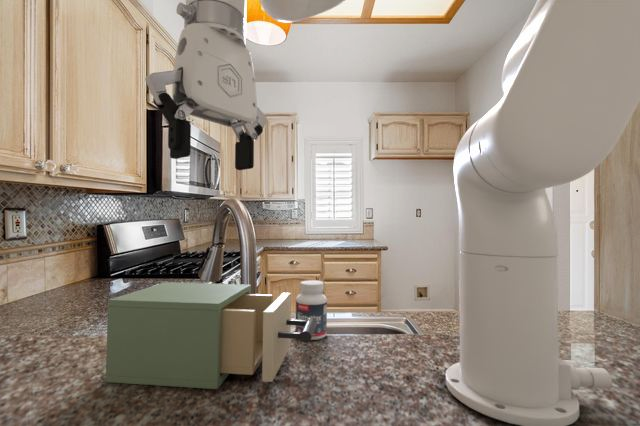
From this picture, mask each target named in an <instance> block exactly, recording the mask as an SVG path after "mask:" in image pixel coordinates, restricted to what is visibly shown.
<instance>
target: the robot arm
mask: <svg viewBox="0 0 640 426" xmlns="http://www.w3.org/2000/svg"><path fill="white" fill-rule="evenodd" d="M258 1H259V3H260V5H261V6H262V8H263V11H264V12H265V13H266V14H267V15H268V16H269V17H270V18H271V19H272V20H274V21H277V22H279V23H288V24H289V23H295V22H301V21H304V20H307V19H310V18H312V17H315V16H317V15H320V14H323V13H325V12H328V11H330V10H332V9H334V8H336V7H337V6H340V5H341V4H342V3H344V2H345V1H346V0H258ZM176 14H177V15H178V16H180V17H181V18H182V19H183V20H184V28H183V29H182V30H181V32H180V35H179V38H178V43H177V47H176V51H175V57H174V63H173V70H166V71H165V70H164V71H159V72H158V71H157V72H152V73H150V74H148V75H147V76H146V75H145V77H144V81H145V83H146V86H147V87H148V90H149V92H150V94H151V96H152V101H153V104H154V105H155V106H156V108H157V109H158V111H159V112H160V113H161V114H162V116H163V121H164V122H165V124H167V126H168V127H167V128H168V129H167V147H168V149H169V157H170V159H174V160H178V159H181V158H187V157H189V156H191V148H192V147H191V143H192V142H191V141H192V140H191V139H192V138H191V137H192V135H191V133H192V131H191V130H192V125H191V121H190V120H187V118H188V117H189V116H192V117H195V118H197V119H201V120H205V121H208V122H211V123H214V124H217V125H222V126H225V127H227V128H228V127H229V128H231V129H232V130H233V133H234V134H235V136H236V138H237V140H238V141H236V142H235V145H234V168H235V170H237V171H244V170H251V169H254V166H255V158H254V157H255V142H256V141H257V140H258V139H259V136H260V135H262V133H263V131H264V127H265V125H266V124H267V120H268V119H267V116H266V114H264V112H263V111H262V110H261V109H260V108H259V107H258V104H257V100H258V99H257V86H256V75H255V68H254V62H253V58H252V52H251V51H250V50H249V49H248V48H247V0H185V3H184V2H181V1H180V2H179V3H178V4H177V6H176ZM500 82H501V90H502V93H503V96H502V97H501V99H500V100H499V101H498V102H497V103H496V104H495V105H494V106H493V107H491V108H490V109H489V110H488V111H486V112H485V113H484V114H483V115H482V116H481V117H480V118H479V119H478V120H476V121H475V122H474V123H473V124H472V125H471V126H470V127H469V128H468V129H467V130H466V131H465V133H464V134H463V136H462V137H461V139H460V140H459V142H458V144H457V146H456V150H455V153H454V158H453V166H452V167H453V180H454V187H455V196H456V204H457V214H458V288H459V290H458V292H459V293H458V294H459V295H458V296H459V297H458V298H459V299H458V301H459V303H458V304H459V310H458V311H459V361H458V362H456V363H453V364H451V365H450V366H448V367H447V369H446V370H445V385H446V387H447V389H448V392H449V393H450V394H451V395H452V396H453V397H454V398H455V399H457V400H458V401H459V402H460V403H462V404H463V405H465V406H466V407H468V408H470V409H472V410H473V411H476V412H478V413H479V414H482V415H483V416H486V417H489V418H492V419H494V420H498V421H500V422H504V423H508V424H509V425H510V424H511V425H515V426H570V425H572V424H574V423H575V422H576V421H578V419H579V417H580V402H579V400H578V397H577V395H575V393H574V392H573V391H577V390H579V389H580V388H581V387H588V388H591V389H592V388H593V389H607V390H608V389H610V388H612V386H613V378H612V376H611V374H610V372H609V371H608V370H607V369H606V368H605V367H604V368H603V367H586V366H585V367H584V366H583V367H581V366H580V364H579V362H578V361H577V360H574V359H572V360H571V359H562V358H560V354H559V353H560V347H559V346H560V342H559V341H560V339H559V337H560V336H559V290H558V289H559V287H558V285H559V284H558V283H559V282H558V255H559V254H558V253H559V252H558V251H559V250H558V246H559V245H558V234H557V233H558V232H557V223H556V219H555V216H554V212H553V208H552V205H551V202H550V200H549V196H548V193H547V190H546V189H548V188H553V187H558V186H562V185H565V184H568V183H571V182H574V181H576V180H578V179H581V178H583V177H584V176H586V175H588V174H589V173H591V172H592V171H594V170H595V169H596V168H597V167H599V165H600V164H601V163H602V162H604V161H605V159H606V158H607V157H608V156H609V155H610V153H611V152H612V150H613V149H614V148H615V146H616V145H617V143H618V142H619V140H620V139H621V137H622V135H623V133H624V132H625V130H626V128H627V127H628V124H629V122H630V120H631V118H632V117H633V116H634V113H635V111H636V109H637V107H638V105H639V103H640V0H536V2H535V4H534V6H533V8H532V10H531V12H530V14H529V15H528V18H527V19H526V22H525V24H524V25H523V27H522V29H521V31H520V33H519V35H518V36H517V38H516V39H515V41H514V43H513V45H512V46H511V48H510V50H509V52H508V53H507V56H506V58H505V61H504V64H503V68H502V73H501V81H500ZM170 85H171V86H172V90H171V91H172V93H171V94H172V95H170V94H169V93H168V92H167V91H168V89H167V87H166V86H170ZM171 96H172V97H171ZM572 390H573V391H572Z"/></svg>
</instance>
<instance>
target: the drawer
mask: <svg viewBox="0 0 640 426" xmlns="http://www.w3.org/2000/svg"><path fill="white" fill-rule="evenodd" d="M291 310H292V293H291V292H282V293H281V294H280V295H279V296H278V297H277V298H276V299H274V295H273V294H260V293H251V294H244V295H242V296H240V297H239V298H237V299H236V300H234V301H233V302H231V303H230V304H228V305H226V306H225V307H223V308H222V309H221V349H220V373H228V374H229V375H231V374H232V375H245V376H253V375H254V374H255V372H256V370H257V369H258V368H259V366H260V365H261V366H262V368H261V371H262V372H261V381H262V382H265V383H267V382H270V383H272V382H273V381H274V379H275V378H276V375H277V374H278V371H279V370H280V368H281V366H282V363H283V362H284V360H285V358H286V356H287V354H288V352H289V350H290V348H291V339H294V340H295V339H297V340H300V342H301V343H303V344H309V343H310V342H311V341H312V340H311V338H312V335H313V333H314V330H315V327H316V324H317V320H316V319H315V318H314V317H310V318H308V319H307V320H296V319H291V316H292V311H291ZM295 325H302V326H304V328H303V330H302V332H301V333H300V332H295V331H291V326H295Z"/></svg>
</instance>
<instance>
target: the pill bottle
mask: <svg viewBox="0 0 640 426" xmlns="http://www.w3.org/2000/svg"><path fill="white" fill-rule="evenodd" d="M324 286H325V284H324V281H322V280H315V279H313V280H312V279H308V280H302V281H300V283H299V291H300V293H299V294H298V295H297V296H296V298H295V299H296V300H295V320H307V319H308V318H310V317H314V318H315V319H316V320H317V324H316V327H315V330H314V333H313V335H312V338H311V341H318V340H321V339H324V338H326V337H327V327H328V325H327V324H328V323H327V321H328V320H327V317H328V299H327V296H326V295H325V294H323V292H324V290H325V287H324ZM303 328H304V326H302V325H294V332H300V333H301V332H302V330H303Z"/></svg>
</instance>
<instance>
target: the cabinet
mask: <svg viewBox="0 0 640 426" xmlns="http://www.w3.org/2000/svg"><path fill="white" fill-rule="evenodd" d="M244 294H252V285H251V284H243V283H241V284H239V283H238V284H237V283H236V284H235V283H208V282H207V283H204V282H174V281H173V282H170V281H165V282H162V283H157V284H155V285H152V286H149V287H146V288H145V287H144V288H143V289H140V290H136V291H132V292H129V293H126V294H123V295H120V296H117V297H113V298H110V299H108V300H107V324H106V325H107V327H106V356H105V357H106V359H105V361H106V362H105V383H111V384H112V383H113V384H127V385H128V384H129V385H145V386H161V387H175V388H176V387H177V388H192V389H206V390H207V389H208V390H218V389H219V388H220V386H221V385H222V384H223V383H224V381H225V380H226V379H227V378H228V377H229V375H230V374H228V373H220V349H221V309H222V308H223V307H225V306H226V305H228V304H230V303H231V302H233V301H234V300H236V299H237V298H239V297H240V296H242V295H244Z"/></svg>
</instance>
